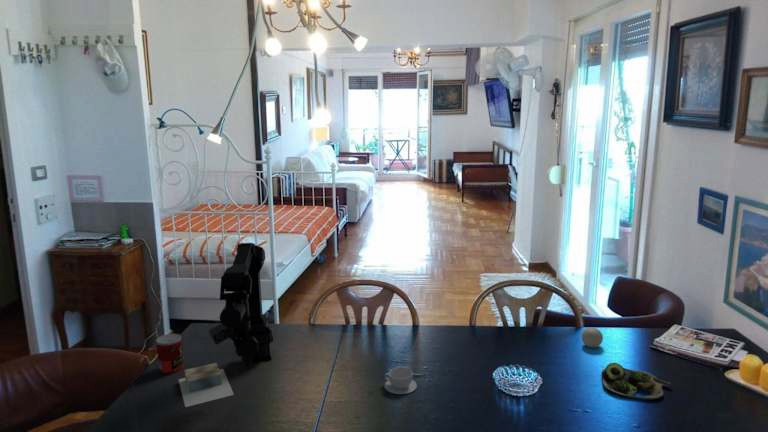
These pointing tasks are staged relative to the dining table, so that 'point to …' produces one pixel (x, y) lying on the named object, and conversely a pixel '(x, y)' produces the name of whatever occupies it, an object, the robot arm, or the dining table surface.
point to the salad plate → (631, 382)
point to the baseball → (592, 337)
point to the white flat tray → (205, 392)
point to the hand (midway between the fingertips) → (243, 362)
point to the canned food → (170, 353)
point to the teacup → (400, 381)
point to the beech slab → (203, 377)
